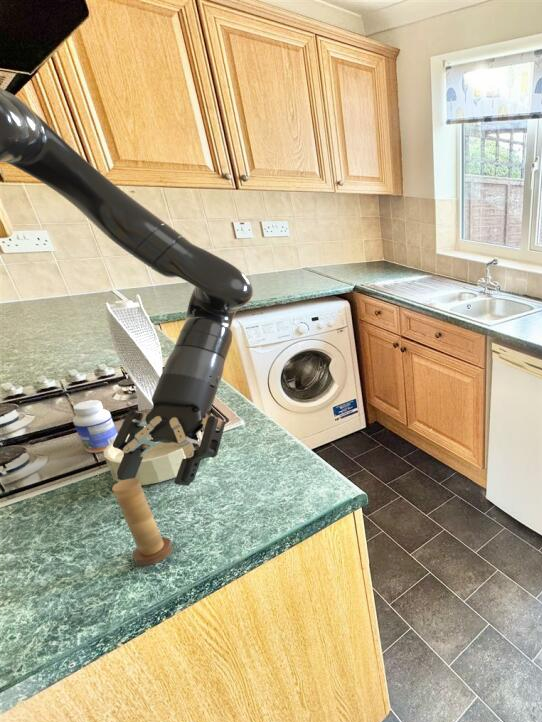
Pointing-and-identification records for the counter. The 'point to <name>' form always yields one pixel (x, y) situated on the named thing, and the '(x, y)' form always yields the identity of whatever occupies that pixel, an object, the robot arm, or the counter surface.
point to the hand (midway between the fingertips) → (153, 482)
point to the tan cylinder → (141, 523)
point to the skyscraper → (136, 347)
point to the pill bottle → (94, 425)
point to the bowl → (150, 462)
